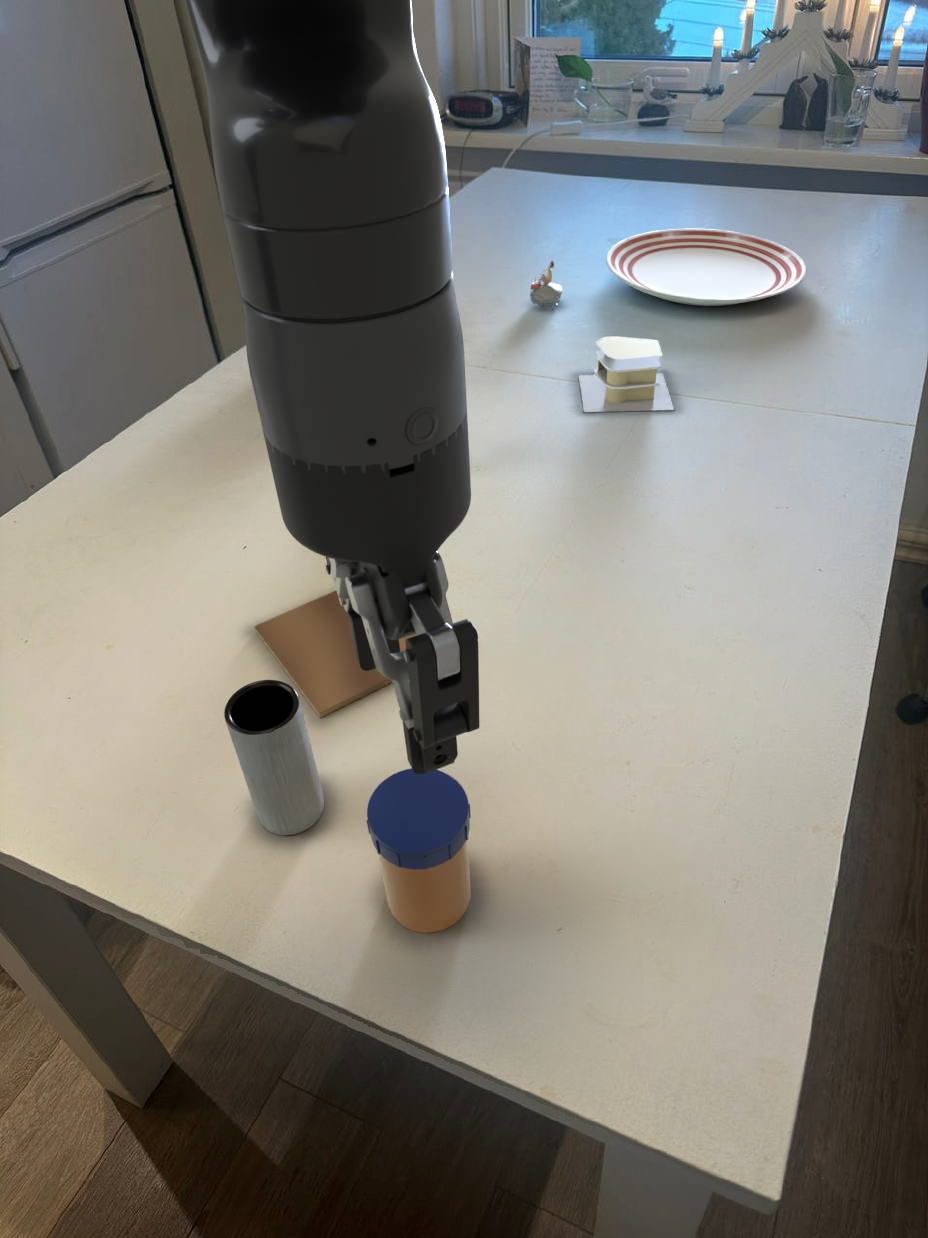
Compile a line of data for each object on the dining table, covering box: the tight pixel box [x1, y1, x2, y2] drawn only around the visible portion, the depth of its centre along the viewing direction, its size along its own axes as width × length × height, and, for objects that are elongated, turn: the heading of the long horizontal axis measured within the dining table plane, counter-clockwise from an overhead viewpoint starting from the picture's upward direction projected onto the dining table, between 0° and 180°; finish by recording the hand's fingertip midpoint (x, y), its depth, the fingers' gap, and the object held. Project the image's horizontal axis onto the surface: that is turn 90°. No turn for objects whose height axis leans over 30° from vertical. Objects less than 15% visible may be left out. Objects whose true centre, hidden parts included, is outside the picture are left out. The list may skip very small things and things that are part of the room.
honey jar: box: [377, 840, 472, 934], centre depth 51 cm, size 5×5×8 cm
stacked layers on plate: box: [578, 335, 675, 413], centre depth 99 cm, size 10×9×6 cm
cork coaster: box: [253, 590, 417, 718], centre depth 71 cm, size 12×12×1 cm
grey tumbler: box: [223, 679, 325, 836], centre depth 56 cm, size 4×4×10 cm
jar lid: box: [366, 767, 472, 870], centre depth 49 cm, size 6×6×2 cm
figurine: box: [529, 259, 563, 309], centre depth 119 cm, size 5×4×6 cm
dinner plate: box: [605, 228, 807, 307], centre depth 123 cm, size 27×27×3 cm
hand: (404, 709), depth 43 cm, fingers open, 7 cm apart
